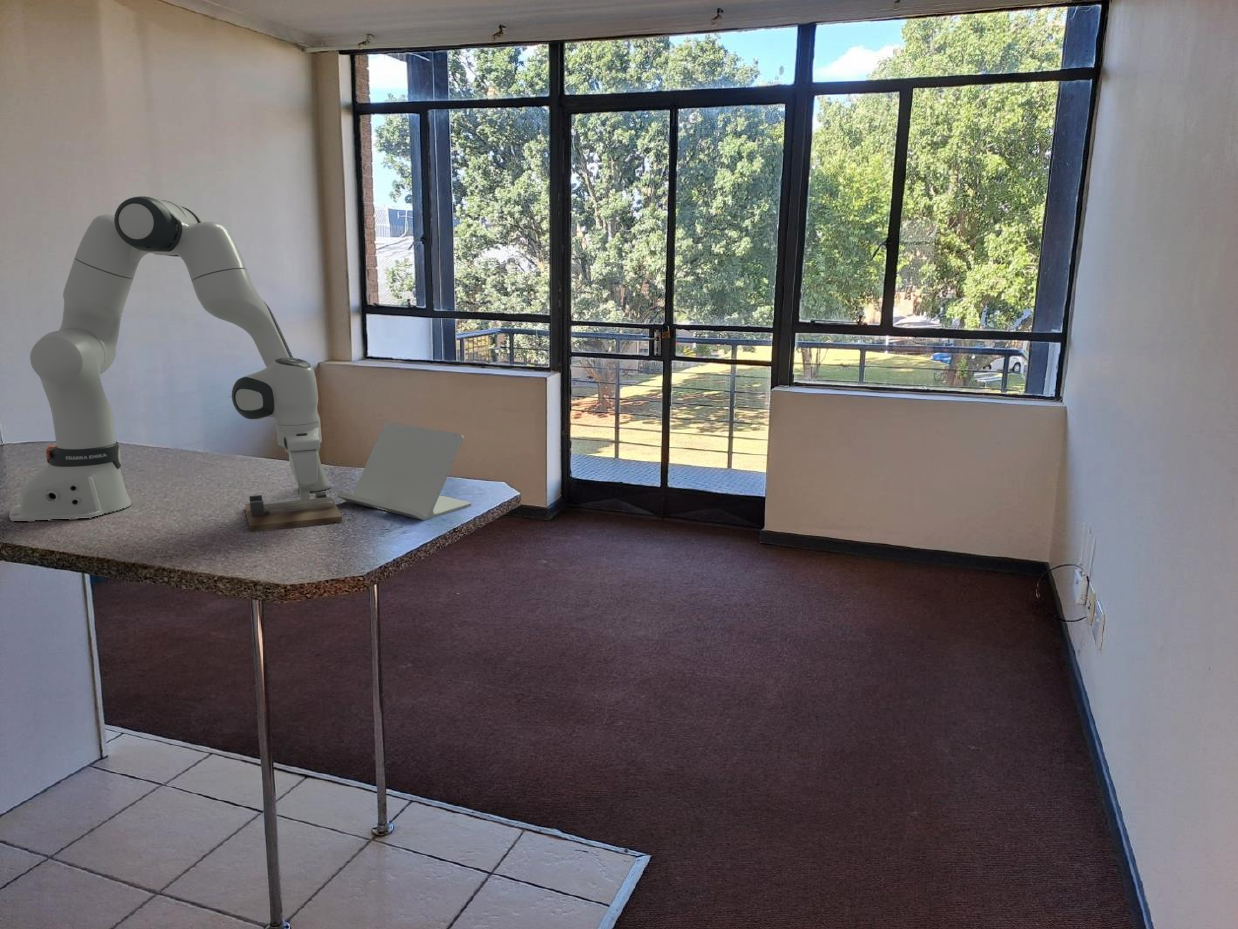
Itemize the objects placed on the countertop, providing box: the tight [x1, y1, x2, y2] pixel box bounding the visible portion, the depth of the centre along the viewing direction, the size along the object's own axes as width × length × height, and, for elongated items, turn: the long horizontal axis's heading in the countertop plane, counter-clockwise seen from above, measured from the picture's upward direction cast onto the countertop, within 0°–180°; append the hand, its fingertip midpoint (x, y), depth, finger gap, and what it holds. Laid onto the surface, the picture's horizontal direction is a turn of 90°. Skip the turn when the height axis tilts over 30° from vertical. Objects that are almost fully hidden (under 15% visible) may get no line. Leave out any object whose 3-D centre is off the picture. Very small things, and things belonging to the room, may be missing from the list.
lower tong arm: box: [249, 494, 333, 517], centre depth 188 cm, size 16×6×3 cm, turn 115°
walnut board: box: [244, 496, 343, 532], centre depth 189 cm, size 18×18×1 cm
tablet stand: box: [337, 421, 472, 521], centre depth 196 cm, size 18×25×17 cm
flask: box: [310, 448, 332, 493], centre depth 210 cm, size 7×7×10 cm
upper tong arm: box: [252, 491, 333, 509], centre depth 188 cm, size 16×4×2 cm, turn 115°
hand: (305, 498), depth 189 cm, fingers closed, pressing on upper tong arm
